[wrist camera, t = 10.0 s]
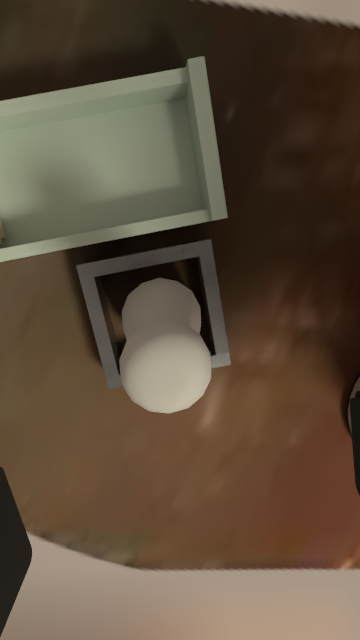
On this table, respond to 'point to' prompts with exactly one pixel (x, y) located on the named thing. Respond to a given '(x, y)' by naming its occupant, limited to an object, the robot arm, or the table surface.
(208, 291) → the grey square frame
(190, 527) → the table surface
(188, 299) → the salt shaker
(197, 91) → the bay
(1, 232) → the crate
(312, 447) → the table surface
